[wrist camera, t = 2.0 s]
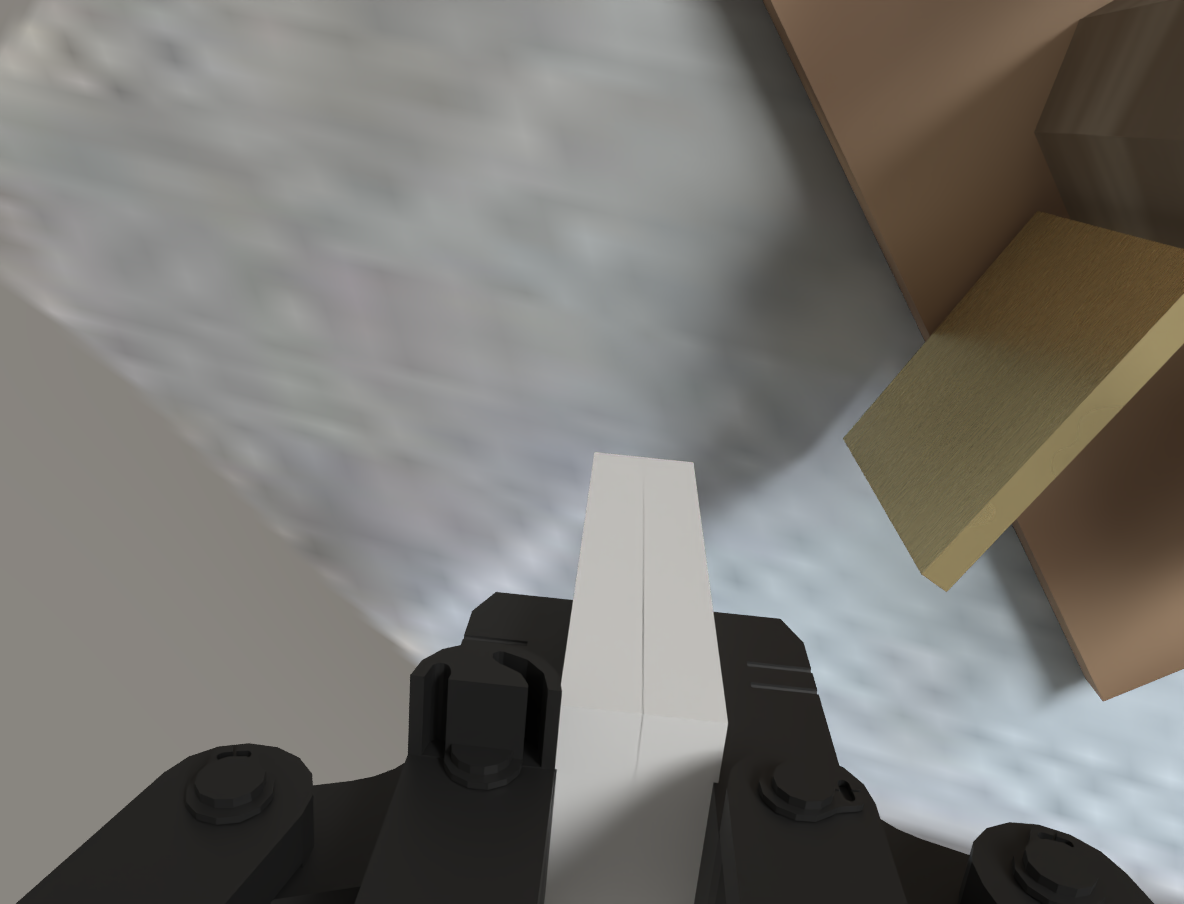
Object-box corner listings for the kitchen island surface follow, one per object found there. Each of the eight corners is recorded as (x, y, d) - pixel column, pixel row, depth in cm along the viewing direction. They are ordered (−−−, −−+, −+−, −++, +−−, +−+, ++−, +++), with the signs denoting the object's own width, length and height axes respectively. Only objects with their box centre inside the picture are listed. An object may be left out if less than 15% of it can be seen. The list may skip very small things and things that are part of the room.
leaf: (861, 451, 25) (947, 592, 18) (843, 438, 25) (921, 574, 18) (1056, 226, 23) (1244, 279, 16) (1037, 210, 23) (1217, 258, 16)
